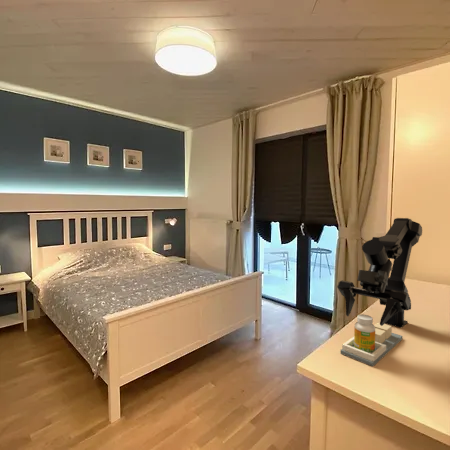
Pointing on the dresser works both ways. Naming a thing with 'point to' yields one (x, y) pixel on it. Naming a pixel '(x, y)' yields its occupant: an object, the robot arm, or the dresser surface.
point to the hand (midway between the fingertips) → (363, 320)
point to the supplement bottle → (364, 334)
